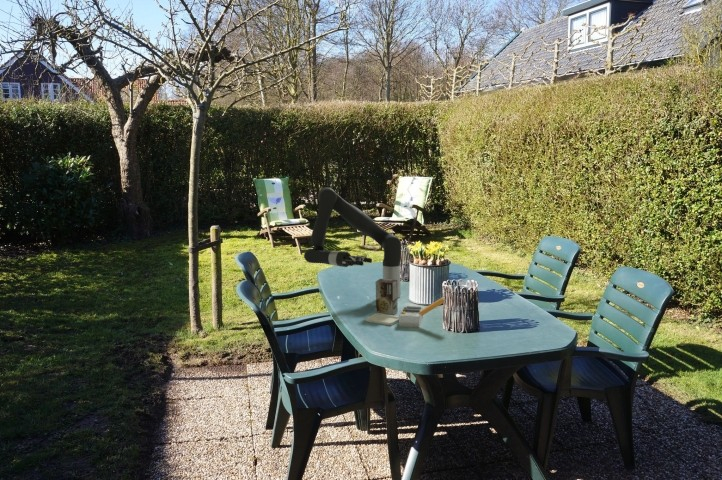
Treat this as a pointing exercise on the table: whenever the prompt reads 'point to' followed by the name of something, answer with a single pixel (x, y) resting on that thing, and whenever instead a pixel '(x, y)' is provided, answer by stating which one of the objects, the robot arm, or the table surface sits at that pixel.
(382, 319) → the white shallow tray
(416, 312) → the silver box
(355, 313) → the table surface
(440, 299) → the lever
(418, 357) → the table surface
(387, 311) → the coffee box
